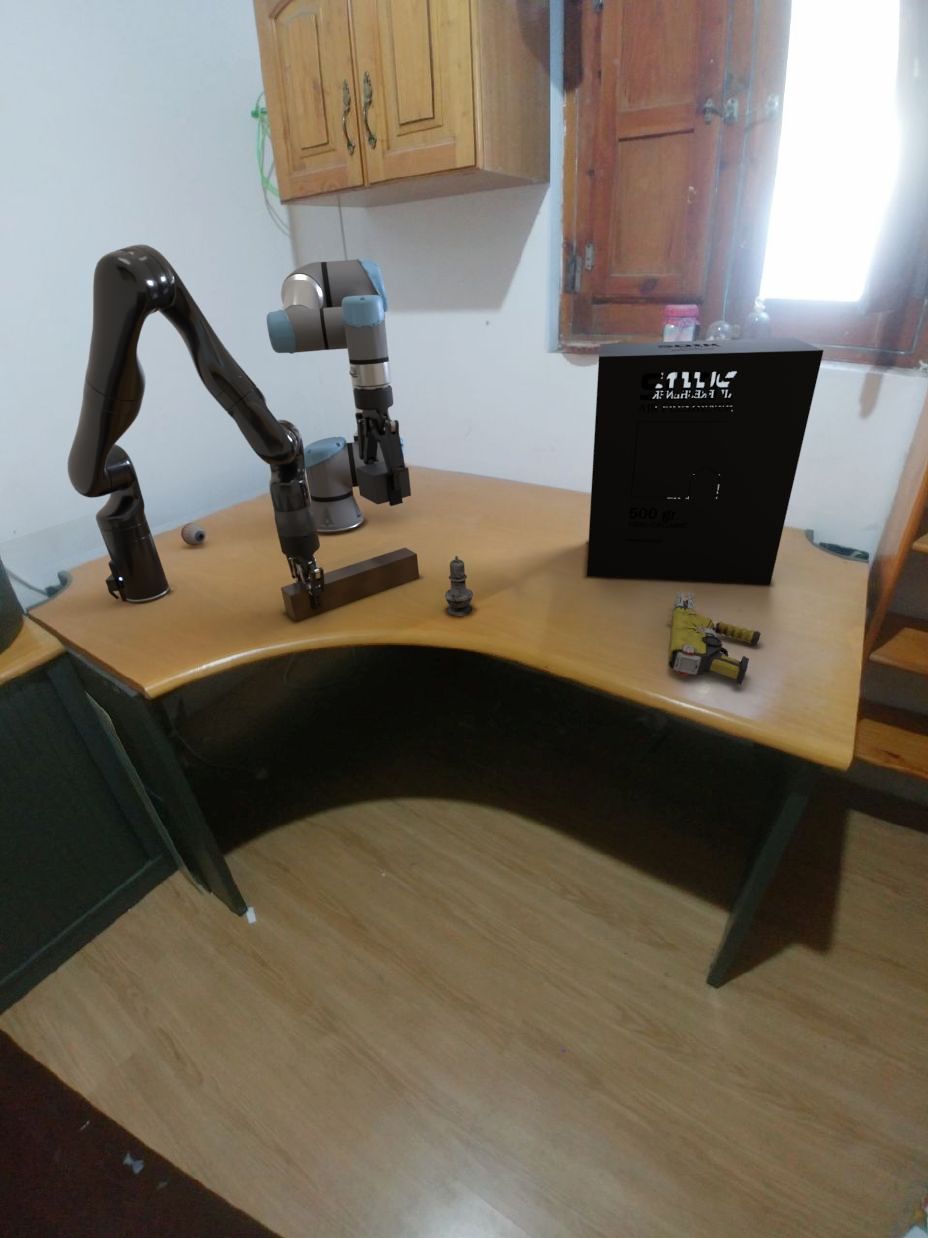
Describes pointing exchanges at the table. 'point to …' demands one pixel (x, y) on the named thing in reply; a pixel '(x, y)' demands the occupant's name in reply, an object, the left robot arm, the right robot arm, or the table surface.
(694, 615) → the toy gun
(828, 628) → the table surface
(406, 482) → the cap block
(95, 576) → the table surface
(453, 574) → the salt shaker
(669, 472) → the cardboard box
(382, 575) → the dark wooden beam
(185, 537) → the eyeball
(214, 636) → the table surface
